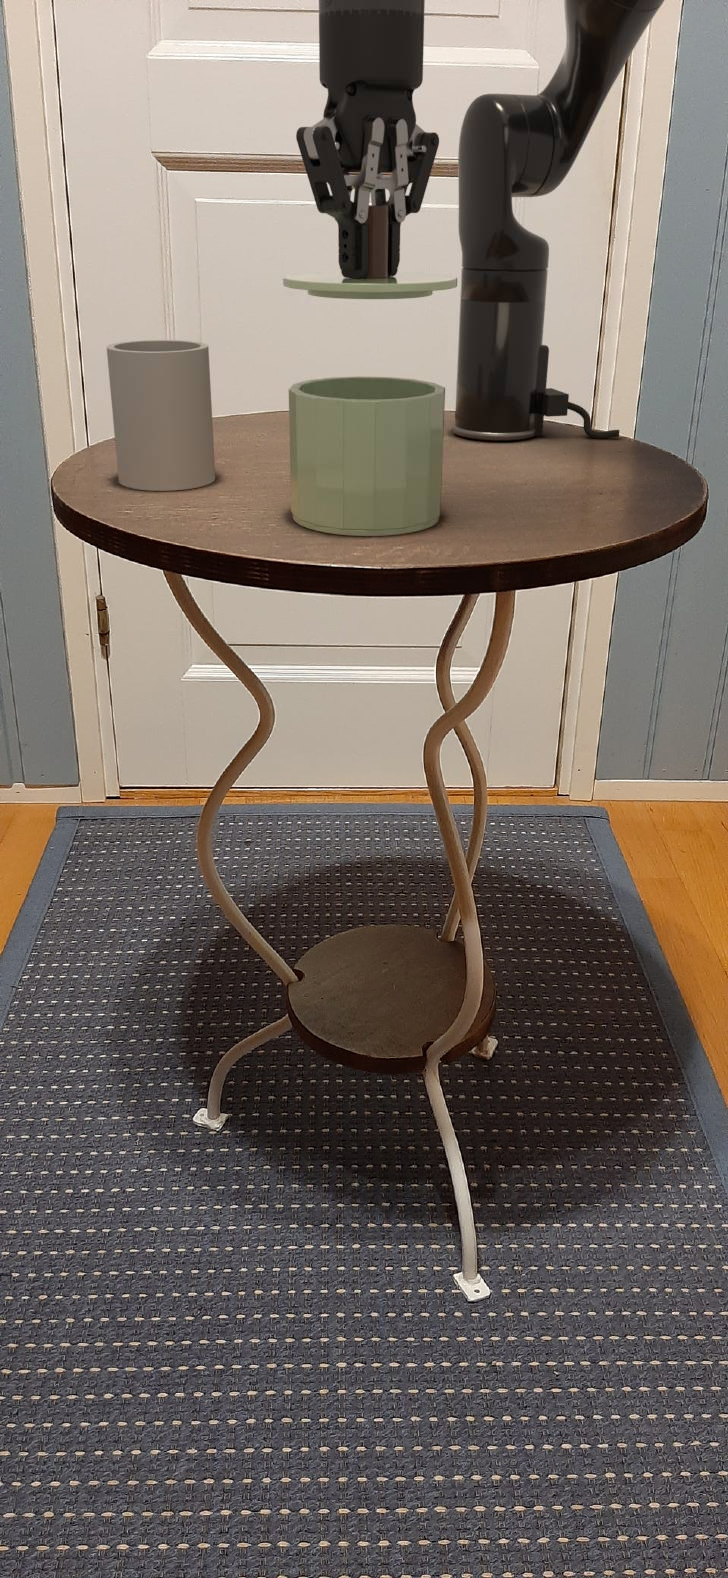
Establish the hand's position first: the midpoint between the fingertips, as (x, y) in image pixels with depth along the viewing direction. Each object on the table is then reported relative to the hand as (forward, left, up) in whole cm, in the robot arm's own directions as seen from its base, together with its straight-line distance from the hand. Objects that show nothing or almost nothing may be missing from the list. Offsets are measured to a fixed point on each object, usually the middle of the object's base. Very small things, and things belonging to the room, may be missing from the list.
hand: (369, 275), depth 90 cm
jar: (0, 0, -19) cm, 19 cm away
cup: (+14, -18, -19) cm, 30 cm away
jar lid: (0, 0, -1) cm, 1 cm away
